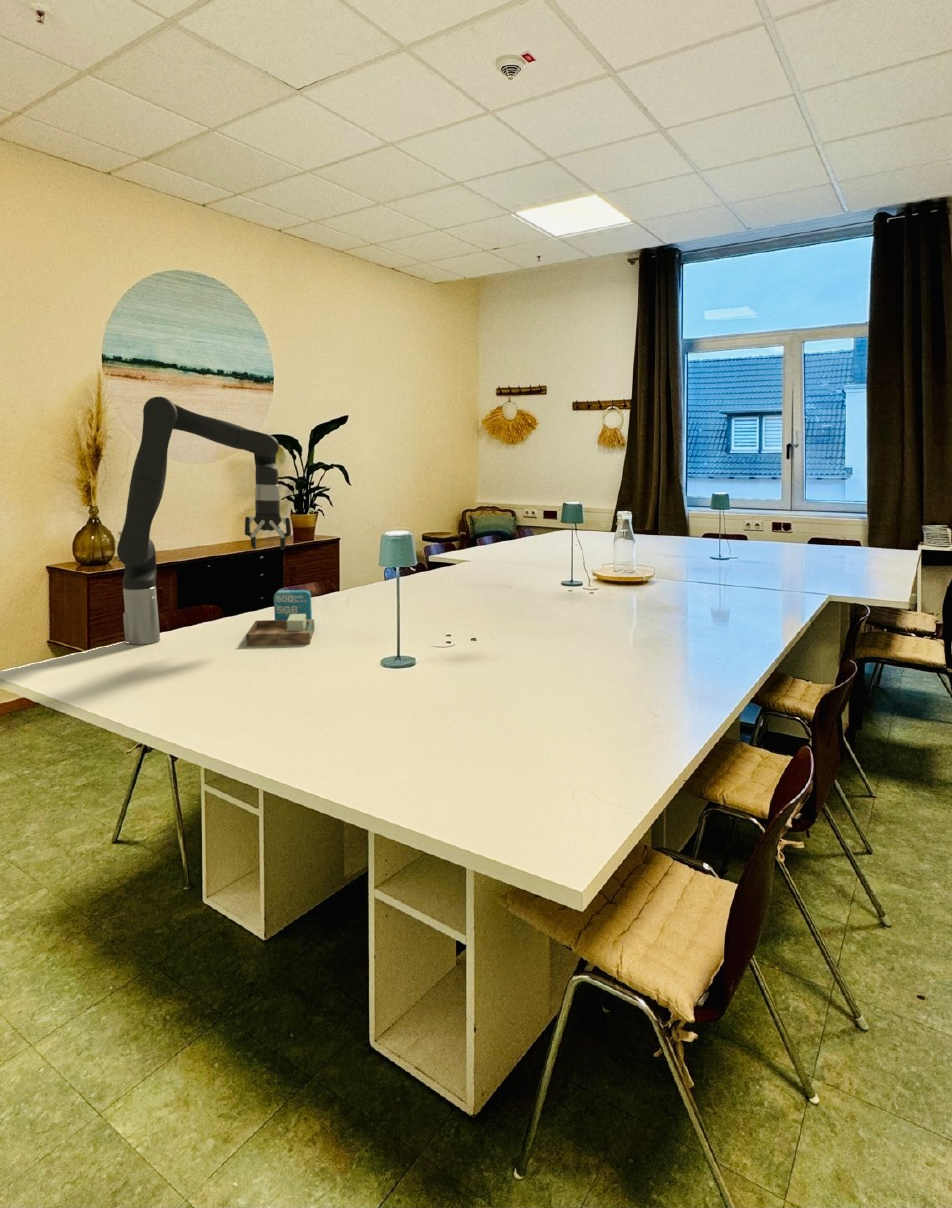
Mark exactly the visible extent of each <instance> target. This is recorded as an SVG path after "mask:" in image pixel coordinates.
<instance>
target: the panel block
mask: <svg viewBox="0 0 952 1208" xmlns="http://www.w3.org/2000/svg"><path fill="white" fill-rule="evenodd" d="M306 629H307V626H306V614H290V616H289V618H288V620H287V631H306Z"/></svg>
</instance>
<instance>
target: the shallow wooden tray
mask: <svg viewBox="0 0 952 1208" xmlns="http://www.w3.org/2000/svg"><path fill="white" fill-rule="evenodd" d="M306 626H307V629H306V631H287V620H275V619H273V620H271V619H270V620H262V619H261V620H255V621H254V623H253V624H252V626H251V627H250V628H249V630H248V631H247V633H246V646H251V647H253V646H256V647H257V646H283V645H284V646H287V645H288V646H289V645H291V646H292V645H293V646H294V645H310V644H311V642H312V638H313V636H314V632H315V619H314V618H312V619H308V620H306Z"/></svg>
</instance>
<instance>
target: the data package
mask: <svg viewBox="0 0 952 1208" xmlns="http://www.w3.org/2000/svg"><path fill="white" fill-rule="evenodd" d="M273 606H274V607H273V610H274V612H273V613H274V620H288V618H289V616H290V614H306V620H308V619H313V614H312V594H311V592H310V590H308V589H307V590H306V589H297V590H296V589H293V590H292V589H290V590H289V589H287V590H285V589H284V590H281V589H280V590H277V591H276V592H275V593H274V596H273Z"/></svg>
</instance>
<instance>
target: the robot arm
mask: <svg viewBox="0 0 952 1208" xmlns="http://www.w3.org/2000/svg"><path fill="white" fill-rule="evenodd" d="M142 416H143V417H142V418H143V420H142V430H141V431H142V434H141V441H140V444H139V448H138V451H137V454H136V457H135V459H134V465H133V467H132V470H131V471H132V472H131V476H130V477H131V478H130V483H129V489H128V490H129V491H128V497H127V503H126V510H125V511H126V514H125V519H124V524H123V526H122V531H121V534H120V537H119V540H118V544H117V546H116V553H117V557H118V559H119V562H121V563H122V564H123V566H124V573H123V578H122V589H123V590H122V592H123V602H124V604H123V605H124V612H123V614H122V618H123V627H124V628H123V629H124V640H125V644H126V645H127V644H130V645H149V644H153V643H157V642H159V641H160V640H161V635H160V634H161V633H160V620H159V609H158V600H157V599H158V597H157V585H156V584H157V583H156V582H157V571H158V570H157V557H156V556H157V554H156V553H157V552H156V548H155V545H154V542H153V540H151V538H150V534H151V527H152V524H153V519H154V518H155V515H156V513H157V511H158V508H159V506H160V505H161V501H162V499H163V494H164V489H165V486H166V485H165V484H166V478H167V477H166V476H167V470H168V469H167V468H168V450H169V445H170V439H171V437H172V433H173V430H175V431H176V430H177V431H181V432H185V433H186V432H187V433H190V434H193V435H196V436H198V437H201V438H204V439H206V440H209V441H212V442H214V443H217V444H219V445H224V446H227V447H228V448H229V447H230V448H234V449H237V450H243V451H246V452H249V453H252V454H253V458H254V465H255V472H254V473H255V475H254V476H255V477H254V478H255V488H254V505H255V507H254V508H255V515H254V517H253V516H249V515H247V516H246V517H245V518H244V519H245V520H244V535H245V536H248V537H250V546H251V548H252V549H253V550H257V549H258V547H257V537H256V536H257V534H258V533H260V530H261V531H262V532H263V531H264V532H265V531H271V532H273V531H275V532H276V533H277V534H278V535H279V536H280V540H279V542H280V543H279V546H280V551H281V550H282V551H283V550H284V549H285V548H286V538H288V537H290V536H291V535H292V529H291V528H292V527H291V518H290V517H289V516H287V517H281V507H280V505H281V503H280V498H281V495H280V487H279V471H278V467H277V454H278V452H279V449H280V444H279V442H278V440H277V438H275V437H274V436H273V435H270V434H268V433H263V432H259V431H257V430H256V431H255V430H253V429H248V428H246V427H243V426H240V425H237V424H235V423H232V422H228V421H226V420H221V419H218V418H214V417H210V416H206V415H202V414H199V413H196V412H193V411H190V410H188V409H185V408H183V407H181V406H180V405H177V404H175V403H174V402H173V401H171V400H170V399H168V398H167V397H164V396H154V397H151V398H149V399H148V400H147V401H146V402H145V404H144V406H143V410H142ZM253 522H255V524H256V525H257V526H256V527H255V528H254V530H253V531H252V532H251V524H252V523H253ZM281 522H282V523H283V525H285V532H284V531H283V529H282V528H281V527H280V524H281ZM126 642H129V643H126Z"/></svg>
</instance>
